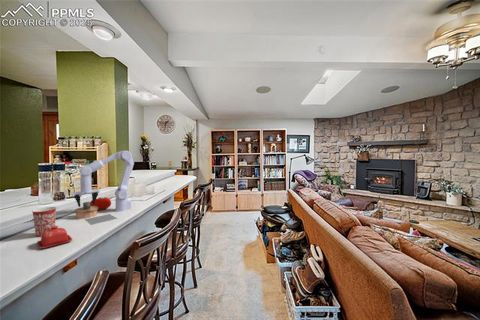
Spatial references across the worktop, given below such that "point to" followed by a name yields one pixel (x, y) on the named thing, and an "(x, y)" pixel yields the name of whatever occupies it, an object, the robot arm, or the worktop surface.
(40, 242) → the butter dish
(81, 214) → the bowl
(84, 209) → the lid
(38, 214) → the mug
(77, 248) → the worktop surface
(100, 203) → the tomato
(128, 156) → the robot arm
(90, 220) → the mat
